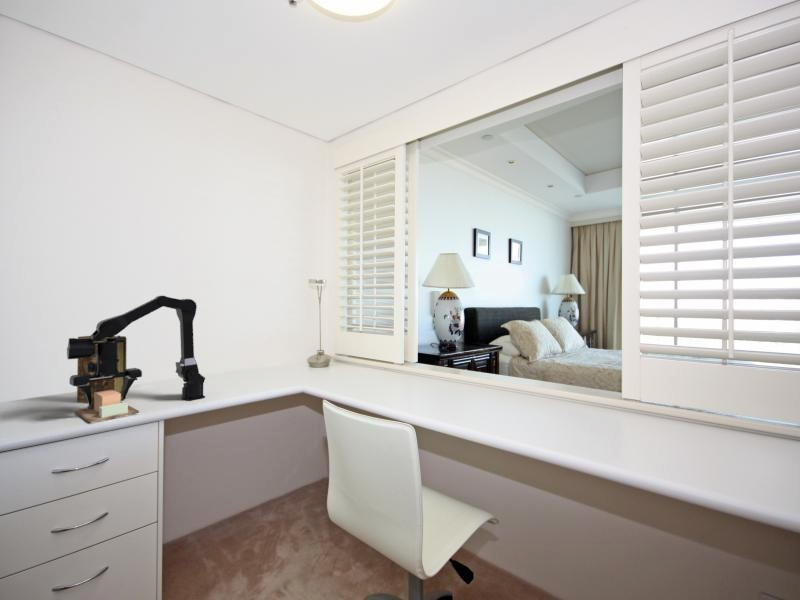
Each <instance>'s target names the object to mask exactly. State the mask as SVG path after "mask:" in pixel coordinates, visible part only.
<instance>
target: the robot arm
mask: <svg viewBox="0 0 800 600" xmlns="http://www.w3.org/2000/svg"><path fill="white" fill-rule="evenodd" d="M197 306H198V305H197V303H196V301H195V300H194V299H191V298H181V299H179V298H173V297H169V296H167V295H157V296H155V297H154V298H153V299H151V300H149V301H147V302H145V303H142V304H141V305H139V306H137V307H135V308H133V309H130V310H129V311H127V312H125V313H123V314H119V315H115V316H112V317H109V318H106V319H103V320H101V321H99V322H97V324H96V326H95V330H94V331H93V333H92V334H90V335H89V336H90V337H89V338H78V337H77V338H75V337H70V338H68V343H67V347H66V358H67V360H78V359H79V358H90V357H91V355H93V354H95V344H97V359H96V364H94V363H87V364H86V373H91V372H93V375H92V376H89V375H87V374H80V375H77V374H73V375H70V377H69V385H71V386H72V387H76V388H77V387H78V388H81V389H82V391H83V392H84V394H85V396H86V399H87V401H88V403H87V404H88V406H89V405H91V401H92V398H91V385H89V384H88V383H89V382H90V381H96V380H104V379H111V378H119V377H124V378H123V390H122V398H123V399H124V398H125V397H126V398H127V394H128V393H129V390H130V389H131V387H132V386H133V384H134V382H135V381H138V380H139V379H138V378H142V377H143V372H142V370H141V369H140V368H137V367H132V368H126V369H124V372H119V371H118V362H119V359H118V343H120V342H126V343H127V340H126V341H125V340H124V339H122V338H121V336H122V335H118V334H119V333H121V332H122V331H123V330H125V329H126V328H127V327H129V326H130V324H132V323H134V322H136V321H138V320H139V319H140V320H141V319H142V318H143V317H145V316H148V315H149V314H151V313H153V312H155V311H157V310H159V309H161V308H162V307H164V308H169V309H175V312H176V316H177V317H178V321H179V328H180V329H179V330H180V331H179V332H180V333H179V334H180V335H179V336H180V358H179V361H177V362H175V368H176V370H175V373H176V374H177V376H178V377H179V378H180V379H182V381H183V382H184V383H183V387H182V388H181V399H183V400H185V401H193V400H194V401H195V400H198V399H203V398H206V396H205V395H204V383H205V380H206V377H204V376H203V374H201V373H200V372H199V367H198V366H199V365H198V363H197V360H196V358H195V351H194V349H195V347H194V346H195V345H194V319H195V317H196V314H197ZM112 336H117V337H116V338H106V337H112ZM104 338H106V339H105V341H100V340H102V339H104ZM93 341H100V342H93ZM114 375H115V376H114ZM100 376H102V377H100ZM126 398H125V399H126Z"/></svg>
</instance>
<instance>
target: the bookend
mask: <svg viewBox="0 0 800 600" xmlns="http://www.w3.org/2000/svg"><path fill="white" fill-rule="evenodd" d="M91 398H92V401H91V405H89V404H88V406H87V407H86V408H88V409H94V397H91Z"/></svg>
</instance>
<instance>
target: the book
mask: <svg viewBox="0 0 800 600" xmlns="http://www.w3.org/2000/svg"><path fill="white" fill-rule="evenodd" d="M90 336H91V335H83V336H78V337H77V338H89V337H90ZM117 336H118V335H115V336H112V337H106V338H116V337H117ZM120 336H121V338H122V339H124V340H125V341H126V342H120V343H118V359H119V362H118V371H119V372H124V369H127V337H126V336H123V335H120ZM106 338H104V339H102V340H100V341H105V339H106ZM100 341H93V342H100ZM96 359H97V344H95V354H93V355H91V357H90V358H79V359H77V374H76V375H80V374H87V375H89V376H92V375H93V372H91V373H86V364H87V363H94V364H96ZM114 376H115V375H114ZM100 377H102V376H100ZM123 378H124V377H119V378H111V379H104V380H96V381H90V382H89V383H88V384H89V385H91V397H94V392H100V391H107V390H114V391H116V392H118V393H121V401H124V400H126V399H127V396H126V397H125V398H124V399H123V398H122V390H123ZM77 402H84V403H83V404H89V403H88V401H87V399H86V396H85V394H84V392H83V391H82V389H81V388H78V387H76V403H77Z"/></svg>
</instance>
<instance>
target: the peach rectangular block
mask: <svg viewBox="0 0 800 600" xmlns="http://www.w3.org/2000/svg"><path fill="white" fill-rule="evenodd" d="M121 402H122V400H121V393H118V392H116V391H114V390H107V391H100V392H94V410H95V411H97V412H99V407H101V406H107V405H112V404H118V403H121Z"/></svg>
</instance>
